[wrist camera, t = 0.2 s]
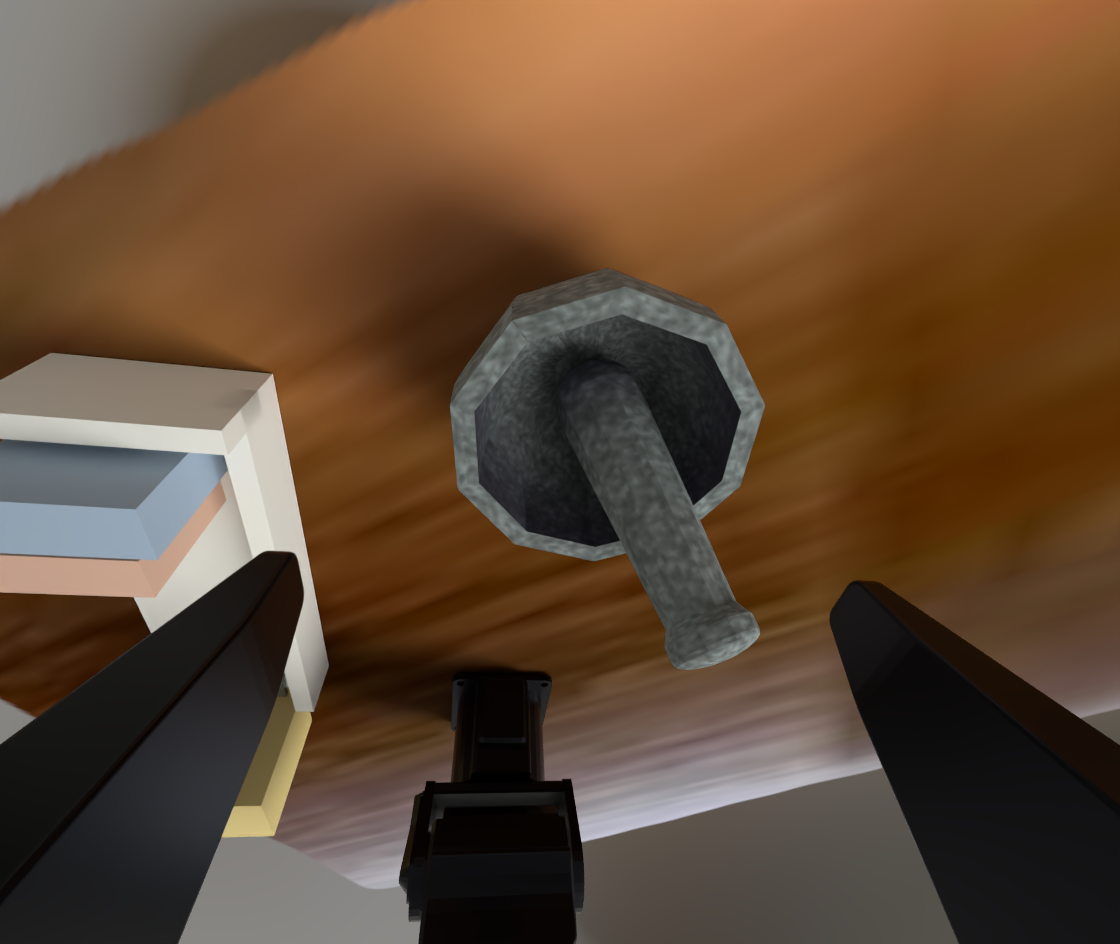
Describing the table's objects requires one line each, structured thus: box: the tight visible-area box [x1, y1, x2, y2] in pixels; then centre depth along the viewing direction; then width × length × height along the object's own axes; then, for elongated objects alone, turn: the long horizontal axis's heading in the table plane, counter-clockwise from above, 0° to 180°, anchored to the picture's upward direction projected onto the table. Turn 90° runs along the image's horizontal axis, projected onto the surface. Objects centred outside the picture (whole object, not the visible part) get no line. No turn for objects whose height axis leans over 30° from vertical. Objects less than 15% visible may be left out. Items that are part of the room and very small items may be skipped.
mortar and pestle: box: [450, 268, 765, 670], centre depth 17 cm, size 11×9×12 cm
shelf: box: [0, 353, 329, 712], centre depth 23 cm, size 20×8×7 cm, turn 172°
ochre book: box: [222, 687, 312, 837], centre depth 31 cm, size 4×6×7 cm
